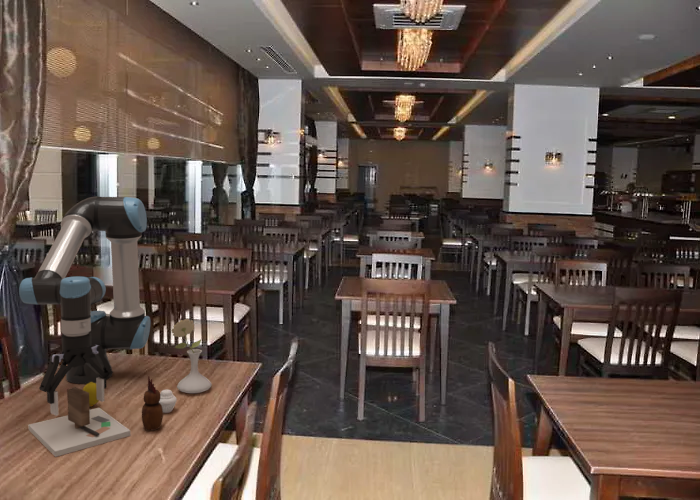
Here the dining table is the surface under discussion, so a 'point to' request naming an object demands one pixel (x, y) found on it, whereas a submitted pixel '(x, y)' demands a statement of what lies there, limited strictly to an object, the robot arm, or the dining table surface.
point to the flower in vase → (194, 379)
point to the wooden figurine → (152, 408)
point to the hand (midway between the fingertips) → (78, 407)
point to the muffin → (167, 401)
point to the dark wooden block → (79, 409)
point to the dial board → (77, 432)
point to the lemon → (91, 393)
